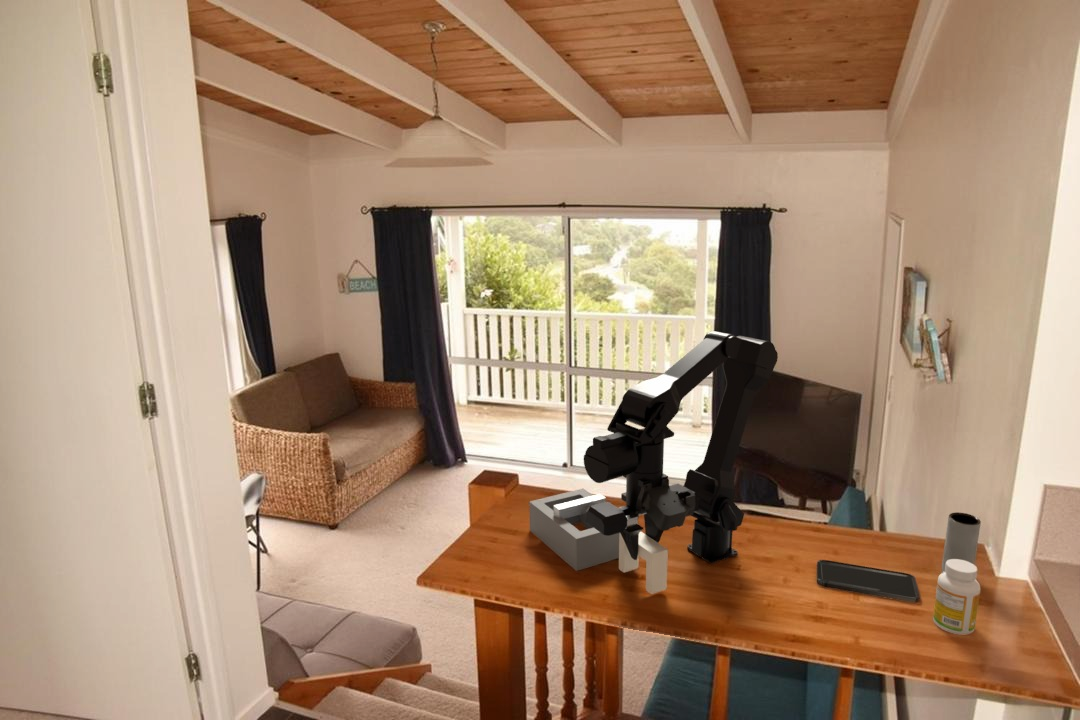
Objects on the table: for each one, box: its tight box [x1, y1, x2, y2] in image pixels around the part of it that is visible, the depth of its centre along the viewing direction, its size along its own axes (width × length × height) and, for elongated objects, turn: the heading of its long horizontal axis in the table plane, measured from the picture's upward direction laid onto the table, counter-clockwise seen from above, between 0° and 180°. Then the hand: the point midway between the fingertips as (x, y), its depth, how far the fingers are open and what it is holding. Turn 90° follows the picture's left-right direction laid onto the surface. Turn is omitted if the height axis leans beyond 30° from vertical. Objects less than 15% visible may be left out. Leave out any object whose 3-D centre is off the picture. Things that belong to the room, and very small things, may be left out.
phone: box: [816, 559, 921, 603], centre depth 115 cm, size 8×1×15 cm
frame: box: [528, 488, 619, 572], centre depth 129 cm, size 12×17×6 cm
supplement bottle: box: [932, 559, 981, 636], centre depth 103 cm, size 5×5×10 cm
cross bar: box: [554, 493, 607, 520], centre depth 128 cm, size 10×2×2 cm, turn 119°
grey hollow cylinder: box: [941, 512, 982, 574], centre depth 116 cm, size 4×4×10 cm
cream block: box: [618, 531, 669, 595], centre depth 115 cm, size 3×9×7 cm, turn 28°
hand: (642, 556), depth 115 cm, fingers closed on cream block, 3 cm apart
